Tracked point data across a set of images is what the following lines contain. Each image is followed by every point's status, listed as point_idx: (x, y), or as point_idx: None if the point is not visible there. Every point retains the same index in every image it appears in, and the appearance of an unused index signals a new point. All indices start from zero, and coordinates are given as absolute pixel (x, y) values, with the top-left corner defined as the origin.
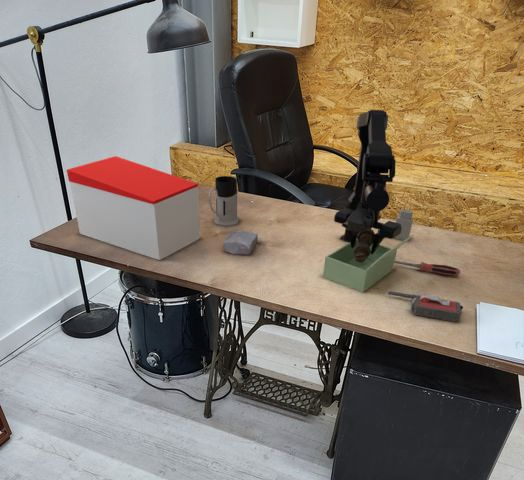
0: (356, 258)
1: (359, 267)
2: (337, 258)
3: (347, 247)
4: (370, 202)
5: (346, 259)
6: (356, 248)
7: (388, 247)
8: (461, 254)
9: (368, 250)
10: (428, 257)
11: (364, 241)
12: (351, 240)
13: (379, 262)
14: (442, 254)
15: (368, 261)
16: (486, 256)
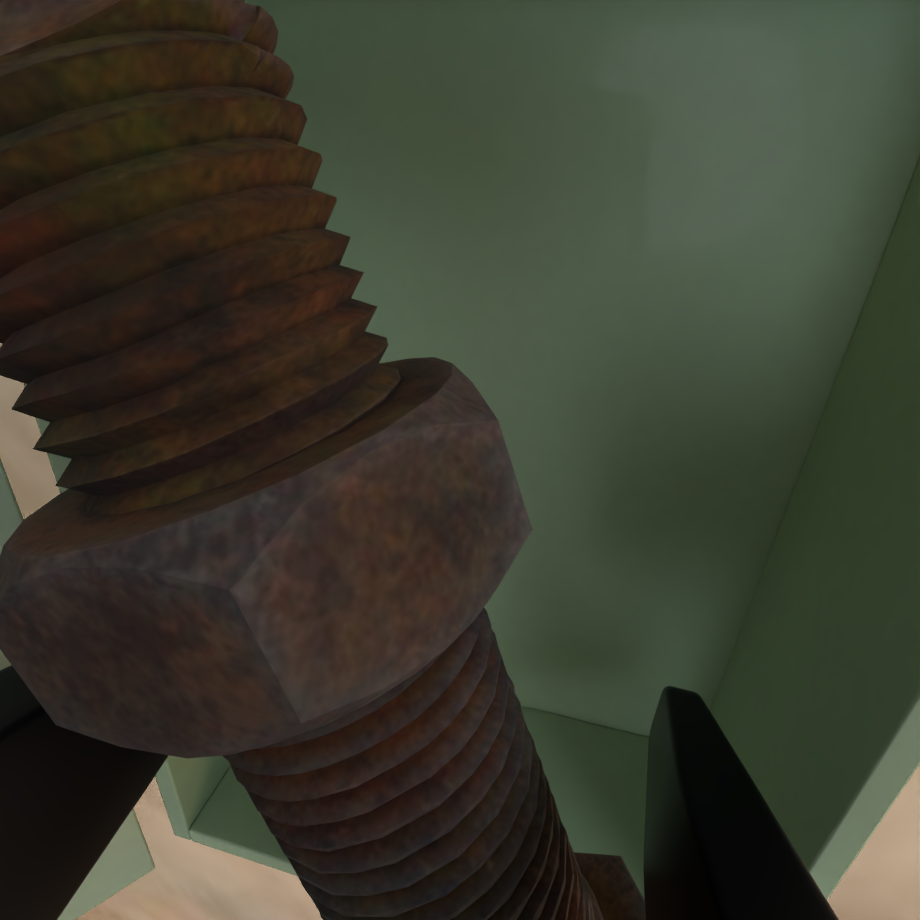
0: None
1: (550, 540)
2: (915, 425)
3: (821, 768)
4: None
5: (761, 618)
6: (350, 445)
7: (275, 868)
8: (157, 916)
9: (46, 511)
10: (242, 862)
11: (349, 880)
12: (755, 883)
13: (41, 429)
14: (215, 902)
15: (527, 693)
16: (82, 916)
